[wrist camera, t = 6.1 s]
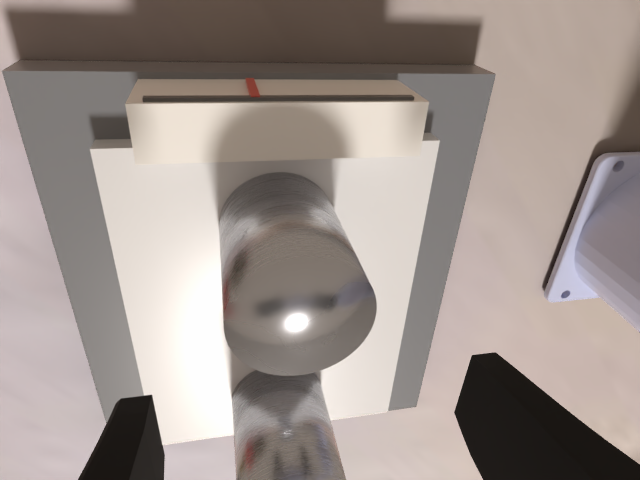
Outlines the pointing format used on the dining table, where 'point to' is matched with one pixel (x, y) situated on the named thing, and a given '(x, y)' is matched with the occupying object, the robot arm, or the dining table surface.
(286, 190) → the cylinder
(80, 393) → the dining table surface
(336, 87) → the scale
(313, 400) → the cylinder
